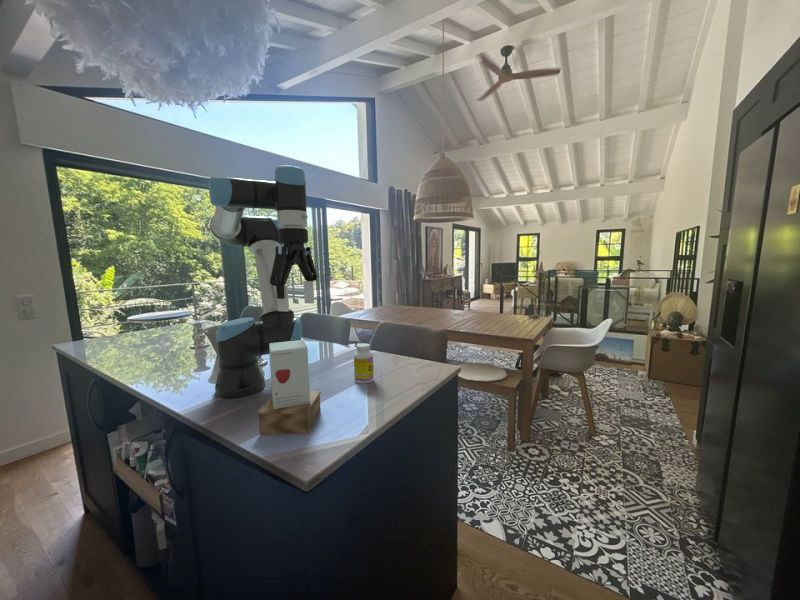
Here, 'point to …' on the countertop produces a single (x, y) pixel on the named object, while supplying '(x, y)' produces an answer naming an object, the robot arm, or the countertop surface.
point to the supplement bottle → (363, 364)
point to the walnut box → (289, 417)
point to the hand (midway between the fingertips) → (297, 307)
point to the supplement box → (289, 373)
